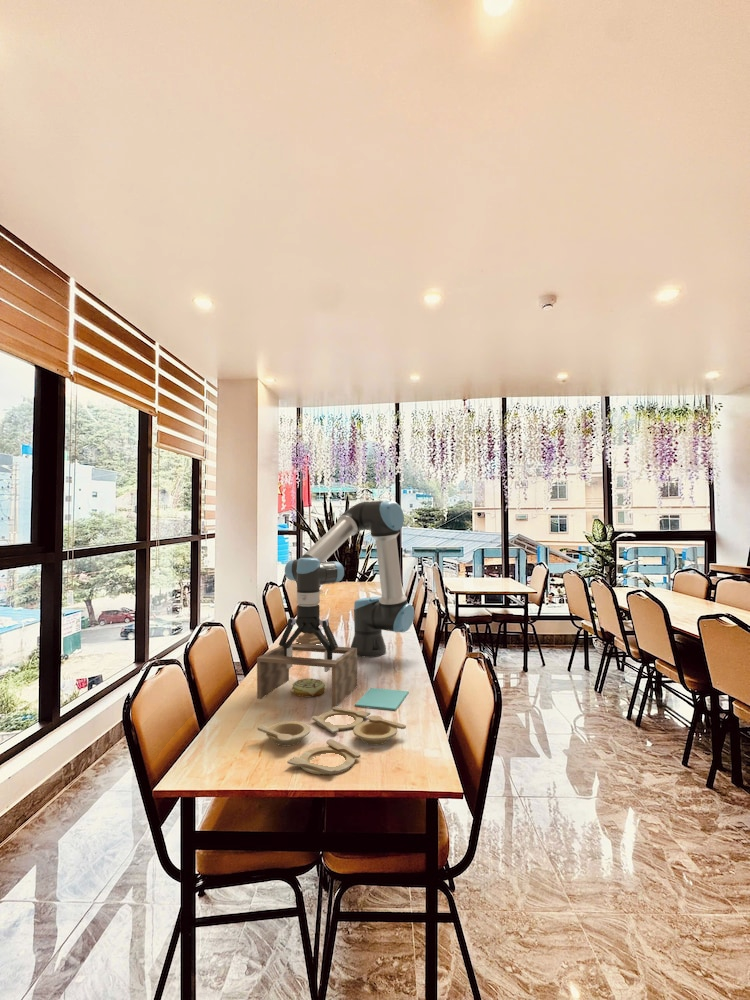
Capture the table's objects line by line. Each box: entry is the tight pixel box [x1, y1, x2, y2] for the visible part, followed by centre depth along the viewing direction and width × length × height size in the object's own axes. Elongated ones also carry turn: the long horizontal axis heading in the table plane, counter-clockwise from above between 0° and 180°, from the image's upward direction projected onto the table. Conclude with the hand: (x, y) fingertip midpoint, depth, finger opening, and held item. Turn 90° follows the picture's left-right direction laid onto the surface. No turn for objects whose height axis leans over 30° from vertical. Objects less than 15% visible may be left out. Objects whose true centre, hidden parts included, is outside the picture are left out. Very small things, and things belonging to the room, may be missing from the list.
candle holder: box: [295, 589, 328, 645], centre depth 240 cm, size 11×11×24 cm
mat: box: [354, 687, 409, 711], centre depth 165 cm, size 16×13×1 cm
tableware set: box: [256, 706, 407, 776], centre depth 136 cm, size 35×29×4 cm
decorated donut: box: [291, 678, 326, 698], centre depth 173 cm, size 10×11×4 cm
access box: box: [256, 643, 358, 707], centre depth 173 cm, size 20×27×13 cm
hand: (308, 669), depth 173 cm, fingers open, 13 cm apart
